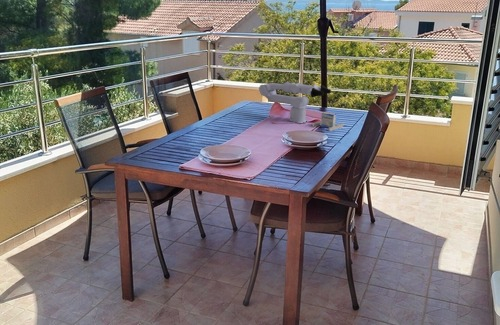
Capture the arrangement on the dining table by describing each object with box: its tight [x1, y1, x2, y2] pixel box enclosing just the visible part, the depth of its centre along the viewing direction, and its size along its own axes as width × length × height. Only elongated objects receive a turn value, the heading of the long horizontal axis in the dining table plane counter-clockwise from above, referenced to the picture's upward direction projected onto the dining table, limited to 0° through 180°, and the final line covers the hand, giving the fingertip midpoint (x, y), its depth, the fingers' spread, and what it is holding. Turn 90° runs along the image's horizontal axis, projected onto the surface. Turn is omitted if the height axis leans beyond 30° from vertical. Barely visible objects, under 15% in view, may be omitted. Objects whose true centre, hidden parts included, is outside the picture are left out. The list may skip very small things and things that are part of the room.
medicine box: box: [320, 111, 337, 129], centre depth 301 cm, size 8×4×9 cm, turn 62°
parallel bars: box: [312, 121, 344, 132], centre depth 302 cm, size 13×14×2 cm
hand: (326, 92), depth 294 cm, fingers open, 7 cm apart
